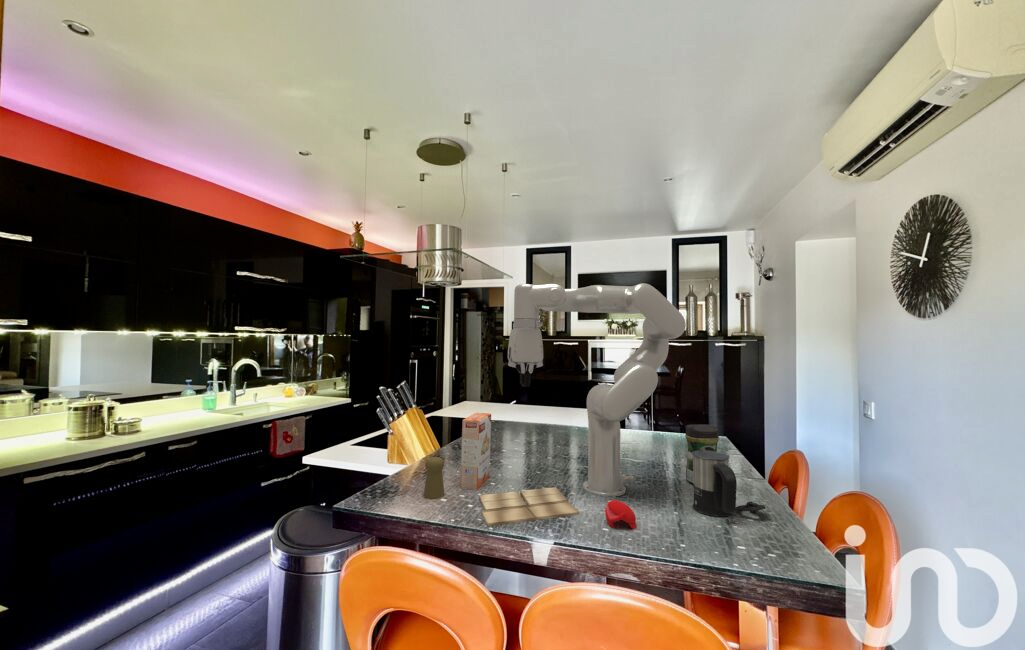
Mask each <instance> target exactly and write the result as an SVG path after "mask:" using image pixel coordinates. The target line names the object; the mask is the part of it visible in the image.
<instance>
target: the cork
mask: <svg viewBox="0 0 1025 650" xmlns="http://www.w3.org/2000/svg"><path fill="white" fill-rule="evenodd" d="M424 464H425V465H424V466H425V469H426V475H425V482H424V489H423V498H424V499H428V500H437V499H441V498H443V497H444V496H445V486H444V485H445V484H444V478H443V477H444V476H443V469H444V466H445V461H444V459H443V458H442V457H439V456H433V457H432V456H431V457H429V458H427V459H426V461H425V463H424Z"/></svg>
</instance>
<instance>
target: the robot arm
mask: <svg viewBox="0 0 1025 650" xmlns="http://www.w3.org/2000/svg"><path fill="white" fill-rule="evenodd" d="M513 297H514V299H513V329H511V330H510V333H509V338H508V348H507V360H508V363H507V366H509V367H510V368H511V367H512V368H515V370H517V371H518V373H519V385H520V386H521V387H524V388H530V387H531V386H530V385H531V384H532V373H534V372H533V371H534V370H536V369H537V368H541V367H543V366H544V364H543V359H544V344H543V336H542V330H540V327H543V326H544V322H543V321H540V310H543V311H546V312H558V313H559V312H560V313H561V312H563V313H564V312H566V313H571V312H572V313H587V314H590V313H594V314H595V313H598V314H599V313H601V314H603V313H605V314H631V315H632V314H639V313H641V314H642V315H643V317H645V318H644V320H643V322H642V335H643V337H642V342H641V344H640V346H639V347H638V348H637V349H636V350H635V351H634V352H633V353H632V354H631V355H630V356H629V357H628V358H627V359H626V360H624V362H622V363H621V364H620V365H619V366H618V367H617V368H616V370H615V371H614V374H613V381H614V384H612V385H608V384H606V383H605V384H602V383H600V384H597V385H594V386H593V387H592V388H591V389H590V390H589V391H588V394H587V397H586V412H587V420H588V421H587V423H588V426H587V427H588V437H587V438H588V445H587V446H588V449H587V450H588V453H587V454H588V455H587V456H588V458H587V464H588V465H587V472H588V473H587V478H588V479H587V480H585V481H584V482H583V484H582V488H583V490H584V491H587V492H588V493H590V494H594V495H598V496H602V497H603V496H605V497H606V496H607V497H616V496H617V497H621V496H623V495H625V494H626V486H625V485H626V483H634V482H635V477H634V475H627V476H626V474H625V473H623V474H621V423H620V422H621V421H623V420H625V419H627V418H628V417H630V416H631V415H632V414H633V413H634V412H635V411H636V410H637V409H638V408H639V407H640V406H642V404H643V403H644V402H645V401H646V400H647V399H649V397H650V396H651V395H652V394H653V393H654V392H655V390H656V388H657V386H658V382H659V376H658V373H657V371H658V369H659V368H660V367H662V365H663V364H664V363H665V362H666V360H667V358H668V354H669V349H670V348H669V347H670V346H669V345H670V343H669V340H675V339H677V338H679V337H681V336H682V335H683V334H684V332H685V331H686V324H687V323H686V319H685V317H684V316H683V314H682V313H681V312H680V311H679V309H678V308H677V307H676V306H674V305H673V304H672V302H670V301H669V299H668V298H666V297H665V296H664V295H663V294H662V293H661V292H660V291H659V290H658V289H656V288H655V287H654V286H652V285H651V284H649V283H645V282H644V283H637V284H635V285H632V286H628V285H603V284H594V285H589V286H585V287H579V288H564V287H563V286H562V285H559V284H557V283H545V284H532V283H531V284H530V283H522V284H521V283H519V284H518V285H516V286H515V287H514V295H513ZM525 364H526V366H525Z"/></svg>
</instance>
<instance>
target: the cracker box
mask: <svg viewBox="0 0 1025 650" xmlns="http://www.w3.org/2000/svg"><path fill="white" fill-rule="evenodd" d="M461 427H462V428H461V431H462V432H461V457H460V460H461V461H460V464H461V465H460V484H459V486H460V487H459V488H460V489H464V490H474V491H475V490H476V491H478V490H479V489H480V488H481V486H482V485H483V484H484V483H485V482H486V481H487V480H488V479H489V478H490V469H491V468H490V467H491V464H490V463H491V462H490V461H491V460H490V459H491V436H492V413H489V412H488V413H487V412H475V413H473V414H471V415H469V416H468V417H466V418H464V419H462V426H461Z"/></svg>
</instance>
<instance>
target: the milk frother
mask: <svg viewBox="0 0 1025 650" xmlns="http://www.w3.org/2000/svg"><path fill="white" fill-rule="evenodd" d="M692 454H693V481H694V484H693V501H692V502H693V504H692V508H693V510H695V511H696V512H698V513H701V514H704V515H707V516H712V517H728V516H729V515H731V514H734V513H740V512H741V513H742V512H749V513H751V514H752V513H756V512H759V511H762V510H766V505H764V504H758V503H756V502H753V501H747V502H746V503H745V504H744V505H743V504H742V505H738V506H737V477H736V474H735V472H734V470H733V469H732V468H731V467H730V466H729V460H730V456H729V455H728V454H726V453H723V452H719V451H717V452H714V451H693V452H692Z"/></svg>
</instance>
